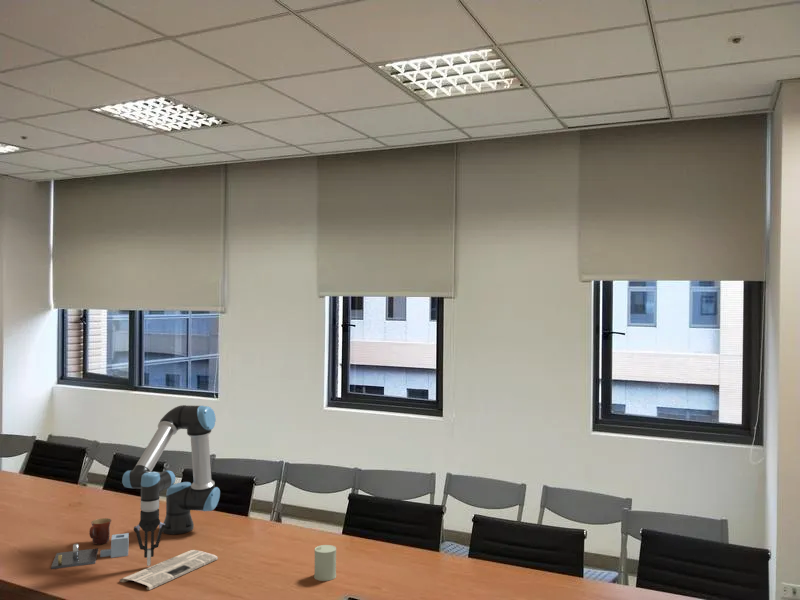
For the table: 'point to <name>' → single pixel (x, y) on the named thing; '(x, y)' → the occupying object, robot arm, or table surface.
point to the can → (325, 562)
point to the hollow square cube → (117, 546)
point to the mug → (100, 531)
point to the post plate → (76, 561)
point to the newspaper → (171, 568)
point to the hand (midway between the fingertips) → (148, 564)
